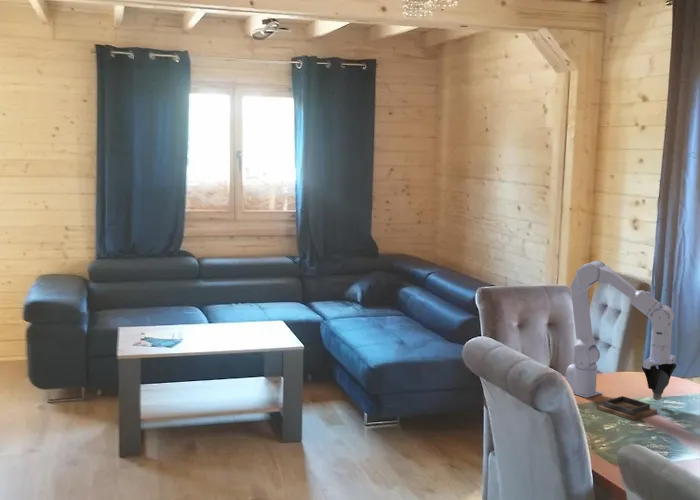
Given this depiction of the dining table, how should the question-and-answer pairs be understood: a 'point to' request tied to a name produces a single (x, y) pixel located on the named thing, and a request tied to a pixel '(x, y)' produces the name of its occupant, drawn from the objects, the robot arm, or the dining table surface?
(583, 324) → the robot arm
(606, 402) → the socket board
